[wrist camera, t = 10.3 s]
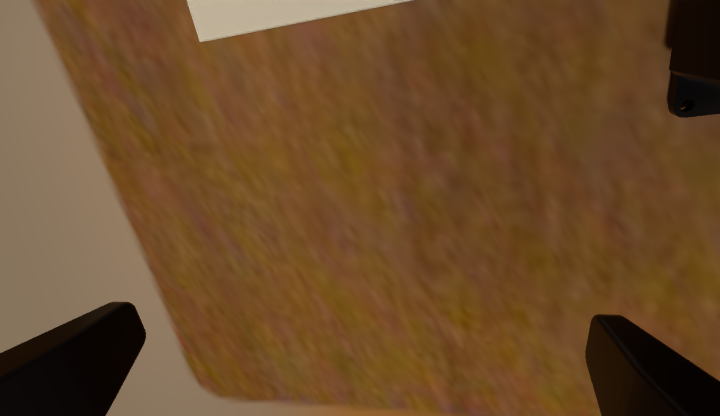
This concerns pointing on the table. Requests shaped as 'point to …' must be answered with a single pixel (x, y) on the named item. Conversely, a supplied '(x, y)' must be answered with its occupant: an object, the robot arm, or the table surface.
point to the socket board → (267, 14)
